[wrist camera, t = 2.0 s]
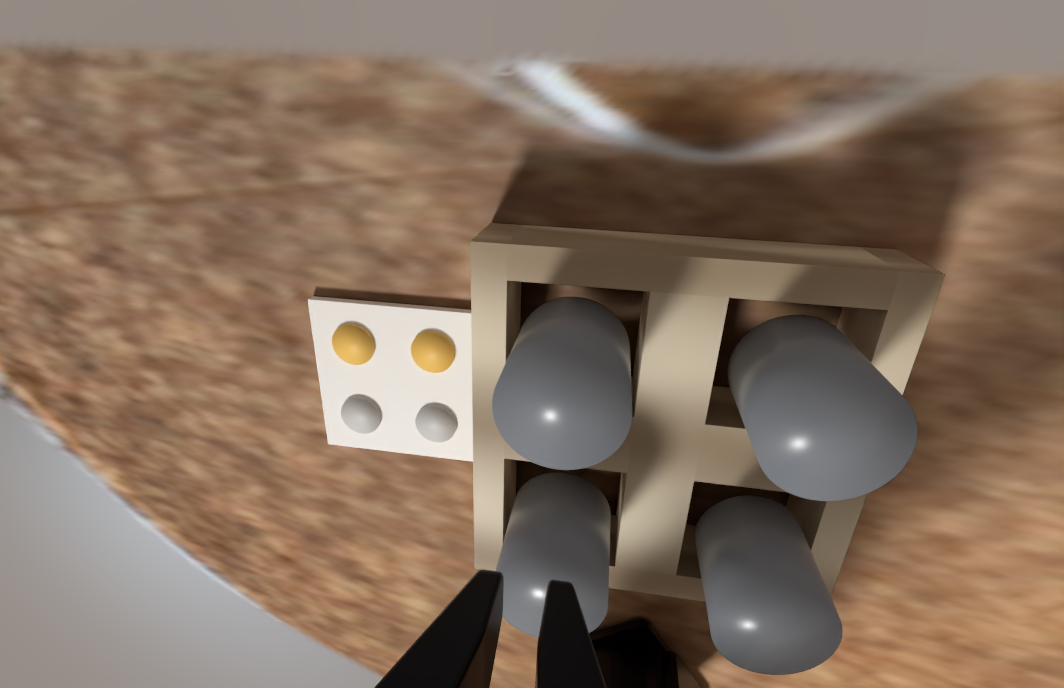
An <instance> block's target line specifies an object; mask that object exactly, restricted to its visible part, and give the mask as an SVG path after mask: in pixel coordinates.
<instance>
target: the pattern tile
mask: <svg viewBox="0 0 1064 688" xmlns="http://www.w3.org/2000/svg"><path fill="white" fill-rule="evenodd" d="M308 306H309V313H310V320H311V327H312V334H313V341H314V348H315V355H316V362H317V369H318V376H319V383H320V390H321V397H322V404H323V411H324V418H325V425H326V432H327V439H328V444H332V445H340V446H348V447H357V448H365V449H373V450H382V451H390V452H398V453H406V454H415V455H423V456H431V457H440V458H448V459H456V460H464V461H473V409H472V331H471V310H468V309H457V308H445V307H433V306H422V305H410V304H398V303H387V302H375V301H363V300H352V299H340V298H328V297H317V296H312V297H311V298H309V299H308Z"/></svg>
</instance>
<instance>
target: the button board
mask: <svg viewBox="0 0 1064 688" xmlns="http://www.w3.org/2000/svg"><path fill="white" fill-rule="evenodd" d="M470 252H471V331H472V409H473V488H474V566H475V569H485V570H492V571H496V567H497V564H498V560H499V556H500V553H501V549H502V545H503V542H504V538H505V534H506V530H507V527H508V523H509V519H510V516H511V512H512V508H513V505H514V501H515V497H516V466H517V460H521V461H529V460H527V459H525V458H524V457H522V456H521V455H519V454H518V453H517V452H515V451H514V450H513V449H512V448H511V447H510V446H509V445H508V444H507V443H506V442H505V440H504V439H503V437H502V436H501V434H500V432H499V431H498V429H497V426H496V424H495V421H494V417H493V411H492V399H493V393H494V389H495V386H496V384H497V381H498V379H499V377H500V375H501V373H502V370H503V368H504V366H505V364H506V361H507V359H508V357H509V355H510V352H511V350H512V348H513V346H514V344H515V341H516V339H517V337H518V335H519V332H520V316H521V282H533V283H546V284H559V285H572V286H584V287H597V288H610V289H623V290H636V291H643V298H642V306H641V314H640V323H639V331H638V339H637V347H636V355H635V363H634V371H633V378H631V392H632V421H631V426H630V429H629V432H628V435H627V436H626V438H625V440H624V442H623V443H622V444H621V446H620V447H619V448H618V449H617V450H616V451H615V452H614V453H613V454H612V455H611V456H609V457H608V458H607V459H605V460H603V461H601V462H600V463H597V464H595V465H593V466H590V467H586V468H588V469H597V470H605V471H613V472H621V477H620V485H619V494H618V502H617V510H616V515H611V519H610V557H609V588H613V589H620V590H627V591H634V592H640V593H647V594H654V595H661V596H668V597H675V598H682V599H689V600H695V601H702V602H705V597H704V591H703V585H702V579H701V573H700V567H699V561H698V555H697V549H696V543H695V529H696V526H693V525H686V521H687V515H688V510H689V505H690V500H691V495H692V489H693V484H694V481H697V482H706V483H714V484H722V485H731V486H739V487H748V488H756V489H764V490H773V491H781V492H786V491H785V490H783V489H781V488H780V487H778V486H777V485H776V484H774V483H773V482H772V481H771V480H770V479H769V478H768V477H767V476H766V474H765V473H764V472H763V470H762V468H761V466H760V465H759V462H758V460H757V457H756V454H755V452H754V449H753V446H752V444H751V441H750V439H749V436H748V433H747V431H746V428H745V426H744V423H743V420H742V418H741V415H740V413H739V410H738V407H737V405H736V402H735V400H734V397H733V394H732V392H731V389H730V387H720V386H712V385H713V380H714V374H715V369H716V364H717V359H718V353H719V348H720V343H721V338H722V333H723V327H724V322H725V317H726V312H727V306H728V301H729V298H738V299H751V300H764V301H776V302H789V303H802V304H815V305H828V306H840V307H842V311H841V314H840V318H839V321H838V325H837V329H839V330H840V331H841V332H842V333H843V334H844V335H845V337H846V338H847V339H848V340H849V341H850V342H851V343H852V344H853V345H854V346H855V347H856V348H857V349H858V350H859V351H860V352H861V353H862V354H863V355H864V356H865V357H866V358H867V359H868V360H869V361H870V362H871V363H872V364H873V365H874V366H875V368H876V369H877V370H878V371H879V372H880V373H881V374H882V375H883V376H884V377H885V378H886V379H887V380H888V381H889V382H890V383H891V384H892V385H893V386H894V387H895V388H896V389H897V390H898V391H899V392H900V393H901V394H902V395H903V392H904V389H905V386H906V384H907V381H908V378H909V375H910V372H911V369H912V367H913V364H914V361H915V358H916V355H917V353H918V350H919V347H920V344H921V341H922V339H923V336H924V333H925V330H926V327H927V325H928V322H929V319H930V316H931V313H932V310H933V308H934V305H935V302H936V299H937V296H938V294H939V291H940V288H941V285H942V282H943V280H944V277H945V274H943V273H941V272H940V271H938V270H936V269H934V268H932V267H930V266H928V265H926V264H924V263H922V262H920V261H919V260H917V259H915V258H913V257H911V256H909V255H907V254H905V253H903V252H901V251H899V250H898V249H884V248H868V247H853V246H838V245H822V244H807V243H791V242H776V241H761V240H745V239H730V238H715V237H699V236H684V235H669V234H653V233H638V232H623V231H607V230H592V229H577V228H561V227H546V226H531V225H515V224H500V223H490V224H489V225H488V226H487V227H486V228H485V229H484V230H482V231H481V232H480V233H479V234H478V235H477V236H476V237H475V238H474V239H472V240H471V241H470ZM529 462H531V461H529ZM866 496H867V494H864V495H861V496H858V497H855V498H850V499H846V500H838V501H817V500H810V499H805V498H802V497H798V496H795V495H793V494H789V498H788V501H787V505H786V507H787V508H788V509H789V510H790V511H791V512H792V513H793V514H794V515H795V517H796V518H797V520H798V522H799V524H800V526H801V529H802V531H803V533H804V536H805V538H806V540H807V543H808V545H809V547H810V550H811V552H812V555H813V557H814V559H815V562H816V564H817V566H818V569H819V571H820V573H821V576H822V578H823V580H824V583H825V585H826V588H827V590H828V592H829V595H830V597H831V594H832V592H833V589H834V586H835V583H836V580H837V578H838V575H839V572H840V569H841V566H842V563H843V561H844V558H845V555H846V552H847V549H848V547H849V544H850V541H851V538H852V535H853V533H854V530H855V527H856V524H857V521H858V518H859V516H860V513H861V510H862V507H863V504H864V502H865V499H866Z"/></svg>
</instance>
